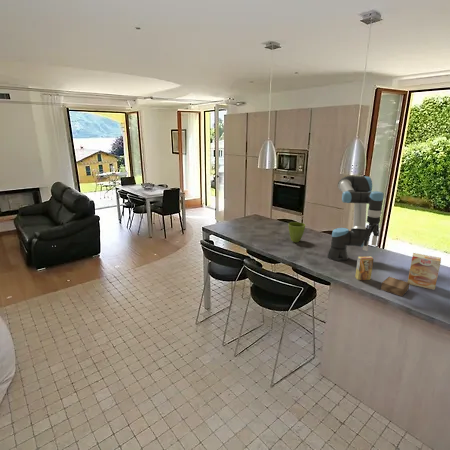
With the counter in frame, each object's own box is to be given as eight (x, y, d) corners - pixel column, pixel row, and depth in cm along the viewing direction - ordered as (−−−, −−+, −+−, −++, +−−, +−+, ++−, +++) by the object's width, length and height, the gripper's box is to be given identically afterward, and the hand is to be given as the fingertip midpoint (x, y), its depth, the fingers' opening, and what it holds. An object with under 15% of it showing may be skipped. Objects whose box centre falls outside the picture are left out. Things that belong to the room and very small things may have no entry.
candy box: (367, 277, 205) (370, 256, 201) (370, 279, 201) (373, 258, 197) (354, 277, 205) (357, 256, 200) (357, 280, 201) (360, 258, 196)
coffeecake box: (407, 284, 196) (412, 255, 190) (407, 279, 201) (412, 252, 196) (434, 290, 188) (441, 261, 182) (434, 285, 193) (441, 257, 188)
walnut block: (380, 289, 189) (381, 282, 188) (387, 283, 197) (388, 276, 196) (401, 296, 181) (403, 289, 179) (408, 290, 189) (409, 282, 187)
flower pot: (302, 238, 282) (304, 222, 278) (305, 244, 268) (306, 226, 263) (286, 238, 284) (287, 221, 279) (288, 243, 269) (289, 226, 265)
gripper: (372, 221, 180) (367, 254, 186) (387, 213, 197) (382, 244, 203) (359, 218, 185) (355, 251, 191) (375, 211, 202) (371, 241, 208)
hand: (369, 247), depth 197 cm, fingers open, 13 cm apart
